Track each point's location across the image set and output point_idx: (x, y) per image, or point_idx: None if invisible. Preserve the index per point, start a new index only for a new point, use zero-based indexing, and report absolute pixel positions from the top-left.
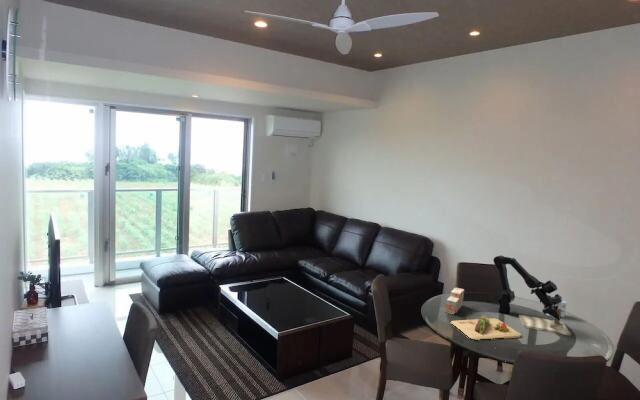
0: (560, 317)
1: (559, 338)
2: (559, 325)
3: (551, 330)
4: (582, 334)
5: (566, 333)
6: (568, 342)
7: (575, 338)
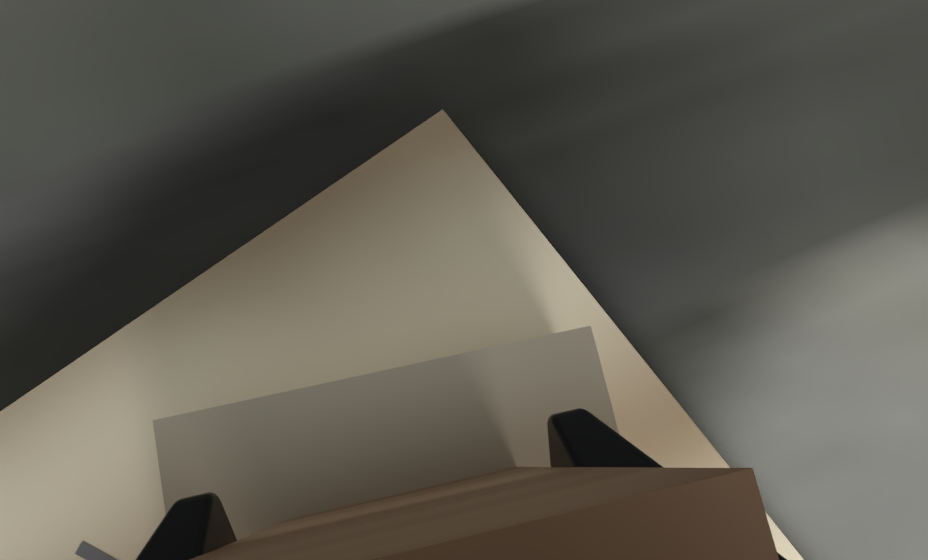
0: (228, 538)
1: (901, 222)
2: (528, 412)
3: (775, 529)
4: (34, 3)
5: (509, 202)
6: (894, 17)
7: (489, 10)
